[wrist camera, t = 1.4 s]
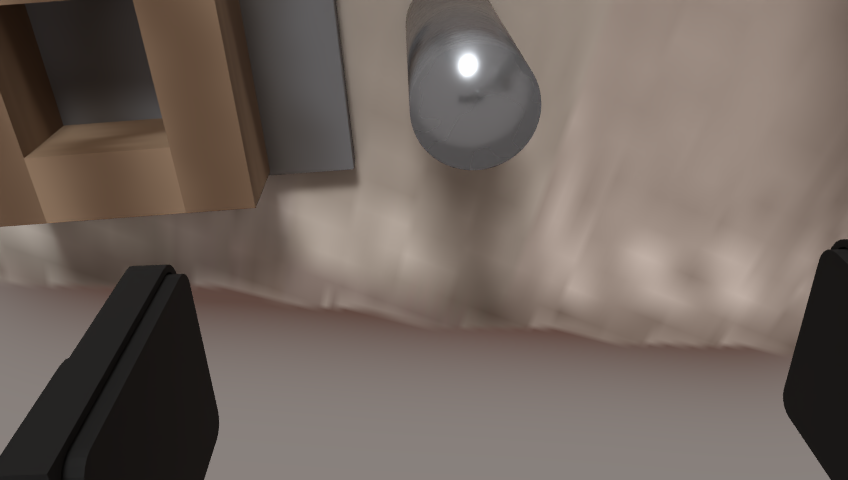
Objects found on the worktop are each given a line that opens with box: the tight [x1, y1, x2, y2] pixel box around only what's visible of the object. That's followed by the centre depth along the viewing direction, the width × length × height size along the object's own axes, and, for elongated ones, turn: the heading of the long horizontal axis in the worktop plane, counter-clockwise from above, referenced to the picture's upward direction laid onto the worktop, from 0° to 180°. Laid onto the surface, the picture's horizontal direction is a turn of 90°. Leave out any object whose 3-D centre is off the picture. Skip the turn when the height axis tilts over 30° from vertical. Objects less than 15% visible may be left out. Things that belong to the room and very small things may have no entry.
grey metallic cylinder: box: [406, 0, 541, 170], centre depth 27 cm, size 4×4×12 cm
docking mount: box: [0, 0, 355, 227], centre depth 30 cm, size 20×12×5 cm, turn 94°
